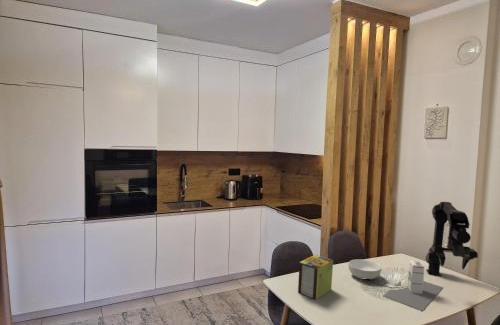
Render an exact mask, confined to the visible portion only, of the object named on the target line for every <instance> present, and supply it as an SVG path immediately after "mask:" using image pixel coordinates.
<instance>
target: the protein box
mask: <svg viewBox="0 0 500 325" xmlns="http://www.w3.org/2000/svg"><path fill="white" fill-rule="evenodd" d="M298 266H299V267H298V268H299V270H298V288H297V293H299V294H301V295H304V296H306V297H308V298H310V299H313V300H314V301H315V300H316V301H317V299H319V298H321V297H322V296H325V294H327V293H329V292H330V291H331V290H332V284H333V283H332V282H333V270H334V259H331V258H328V257H324V256H322V255H318V254H314V255H312V256H310V257H306V258H305V259H304V260H301V261H299V265H298Z"/></svg>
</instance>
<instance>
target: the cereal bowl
mask: <svg viewBox="0 0 500 325" xmlns="http://www.w3.org/2000/svg"><path fill="white" fill-rule="evenodd" d="M348 270H349V272H350V273H351V274H352V275H353V276H355V277H356V278H358V279H360V280H363V279H362V278H366V279H370V280H374V279H376V278H378V277H380V274H381V272H382V268H381V265H380V264H378V263H377V262H374V261H371V260H367V259H357V258H356V259H351V260H350V261H348ZM363 281H364V280H363Z"/></svg>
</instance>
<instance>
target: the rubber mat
mask: <svg viewBox="0 0 500 325" xmlns="http://www.w3.org/2000/svg"><path fill="white" fill-rule="evenodd" d="M394 286H401V282H400V281H399V282H398V283H397V284H395V285H394ZM443 288H444V287H443V286H440V285H437V284H435V283H431V282H427V281H424V280H423V292H422V294H418V293H411V292H410V290H409V289H408V287H407V288H404V289H399V290H390V289H389V290H388V291H387V292H385V293H384V294H383V295H382V297H383V298H386V299H389V300H392V301H394V302H396V303H400V304H403V305H405V306H407V307H410V308H413V309H415V310H418V311H421V312H424V311H425V309H426V308H427V307H428V306H429V305H430V303H431V302H432V301H433V300H434V299H435V298H436V296H438V294H439V293H440V292H441V291H442V289H443Z"/></svg>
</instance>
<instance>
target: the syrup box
mask: <svg viewBox="0 0 500 325" xmlns="http://www.w3.org/2000/svg"><path fill="white" fill-rule="evenodd" d="M408 265H409V267H408V276H409V277H408V289H409V290H410V292H411V293H418V294H422V292H423V281H424V278H425V265H424V264H423V263H422V262H421V261H416V260H412V261H411V260H409V264H408Z"/></svg>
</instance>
